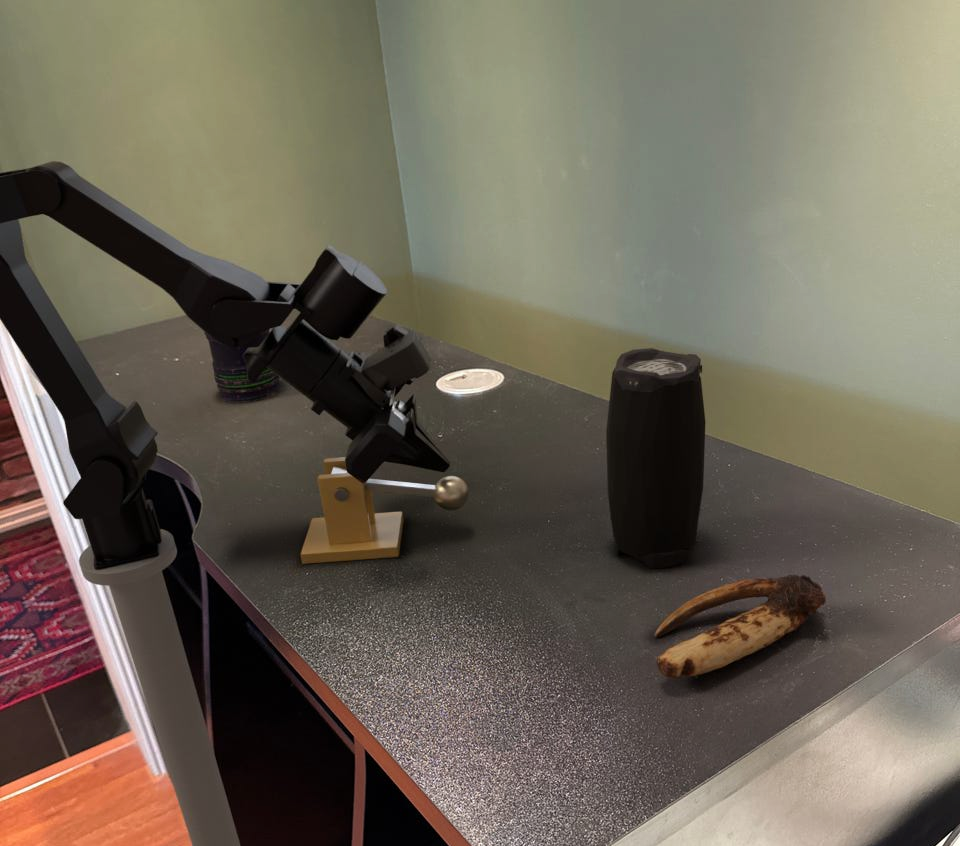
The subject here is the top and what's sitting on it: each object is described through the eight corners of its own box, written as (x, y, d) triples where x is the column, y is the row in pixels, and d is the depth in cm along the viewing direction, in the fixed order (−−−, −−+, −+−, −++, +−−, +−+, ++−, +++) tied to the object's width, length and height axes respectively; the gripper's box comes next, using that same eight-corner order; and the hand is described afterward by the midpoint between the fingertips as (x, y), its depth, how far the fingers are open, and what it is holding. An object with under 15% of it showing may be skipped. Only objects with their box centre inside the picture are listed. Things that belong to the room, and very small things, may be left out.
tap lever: (466, 502, 97) (470, 471, 96) (466, 518, 94) (470, 486, 92) (332, 489, 96) (334, 458, 95) (328, 504, 93) (329, 472, 92)
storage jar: (289, 393, 141) (267, 276, 133) (226, 407, 138) (199, 288, 129) (273, 376, 149) (251, 264, 141) (213, 389, 146) (186, 276, 137)
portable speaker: (715, 541, 91) (725, 352, 82) (666, 582, 85) (671, 384, 76) (641, 519, 97) (643, 339, 87) (590, 557, 91) (587, 367, 81)
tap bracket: (403, 520, 101) (393, 447, 97) (398, 557, 94) (387, 479, 90) (313, 527, 101) (300, 454, 97) (302, 564, 94) (286, 487, 90)
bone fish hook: (760, 585, 85) (609, 654, 76) (762, 540, 83) (608, 606, 74) (845, 627, 77) (688, 708, 69) (850, 578, 75) (689, 656, 67)
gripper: (363, 339, 77) (502, 449, 82) (382, 286, 94) (496, 380, 99) (288, 432, 81) (424, 531, 86) (318, 365, 98) (431, 452, 103)
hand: (447, 467), depth 93 cm, fingers closed
